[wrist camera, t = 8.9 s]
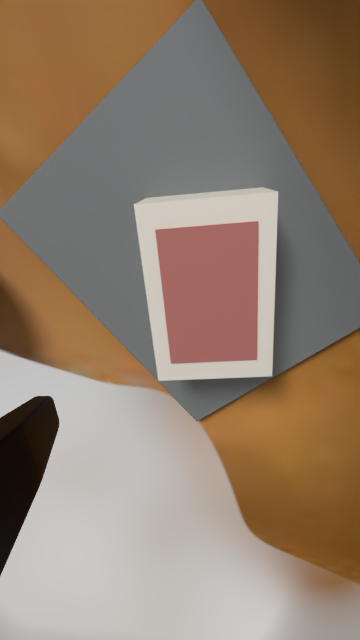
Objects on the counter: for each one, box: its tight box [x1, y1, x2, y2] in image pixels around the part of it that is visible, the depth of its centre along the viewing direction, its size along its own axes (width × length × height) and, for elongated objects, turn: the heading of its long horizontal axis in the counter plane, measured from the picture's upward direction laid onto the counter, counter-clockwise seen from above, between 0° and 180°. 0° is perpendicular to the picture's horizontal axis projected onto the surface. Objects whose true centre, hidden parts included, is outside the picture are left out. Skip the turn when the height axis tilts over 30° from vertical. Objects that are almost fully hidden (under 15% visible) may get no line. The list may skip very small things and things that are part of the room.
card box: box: [134, 187, 278, 381], centre depth 17 cm, size 6×9×4 cm, turn 5°
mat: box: [0, 0, 360, 421], centre depth 19 cm, size 18×14×1 cm
